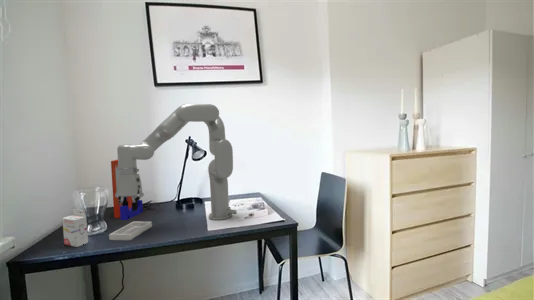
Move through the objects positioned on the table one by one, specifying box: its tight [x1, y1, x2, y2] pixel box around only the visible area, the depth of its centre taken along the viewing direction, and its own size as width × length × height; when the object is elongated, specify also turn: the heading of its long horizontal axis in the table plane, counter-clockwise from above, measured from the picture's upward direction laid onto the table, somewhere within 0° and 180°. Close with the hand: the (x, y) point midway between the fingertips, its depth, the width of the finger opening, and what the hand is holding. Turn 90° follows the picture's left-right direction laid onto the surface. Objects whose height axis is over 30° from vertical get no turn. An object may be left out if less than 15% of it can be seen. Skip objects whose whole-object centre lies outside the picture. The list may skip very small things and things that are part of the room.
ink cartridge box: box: [61, 207, 89, 248], centre depth 113 cm, size 9×5×15 cm, turn 70°
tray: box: [108, 221, 153, 241], centre depth 124 cm, size 10×17×2 cm, turn 173°
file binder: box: [110, 158, 133, 219], centre depth 156 cm, size 8×17×32 cm, turn 13°
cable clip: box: [119, 199, 144, 221], centre depth 124 cm, size 12×4×6 cm, turn 172°
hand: (130, 210), depth 124 cm, fingers closed on cable clip, 4 cm apart
